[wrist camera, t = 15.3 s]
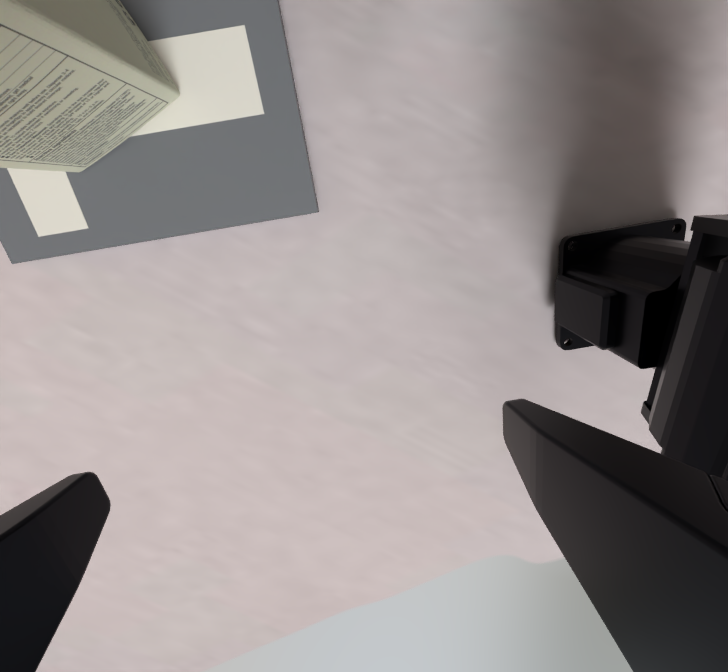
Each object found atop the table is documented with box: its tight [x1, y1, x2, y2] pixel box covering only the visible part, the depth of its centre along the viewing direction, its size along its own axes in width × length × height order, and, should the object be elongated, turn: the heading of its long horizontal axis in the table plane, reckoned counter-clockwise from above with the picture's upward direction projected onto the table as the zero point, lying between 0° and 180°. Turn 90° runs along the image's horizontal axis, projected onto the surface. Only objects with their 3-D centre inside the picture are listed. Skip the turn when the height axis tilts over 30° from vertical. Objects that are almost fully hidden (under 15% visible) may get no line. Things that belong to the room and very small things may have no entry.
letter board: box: [0, 0, 319, 264], centre depth 16 cm, size 15×12×1 cm
